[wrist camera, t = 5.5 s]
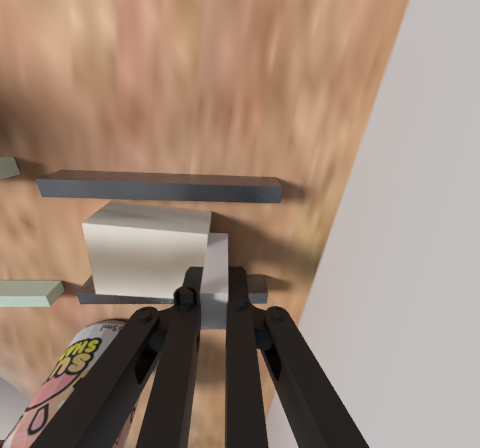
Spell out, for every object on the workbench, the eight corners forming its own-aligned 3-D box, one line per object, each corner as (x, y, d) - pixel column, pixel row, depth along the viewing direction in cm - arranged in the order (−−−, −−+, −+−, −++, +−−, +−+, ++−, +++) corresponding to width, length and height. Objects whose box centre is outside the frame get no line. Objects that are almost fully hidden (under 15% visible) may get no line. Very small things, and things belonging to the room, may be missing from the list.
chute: (262, 284, 22) (266, 303, 20) (95, 284, 21) (80, 304, 19) (275, 177, 18) (282, 186, 15) (61, 170, 17) (35, 179, 14)
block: (206, 268, 21) (202, 300, 18) (118, 262, 21) (95, 293, 17) (211, 211, 19) (207, 234, 15) (110, 201, 18) (81, 223, 14)
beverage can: (109, 376, 28) (35, 543, 17) (52, 337, 24) (-86, 516, 14) (170, 349, 26) (131, 514, 15) (119, 303, 23) (21, 476, 12)
